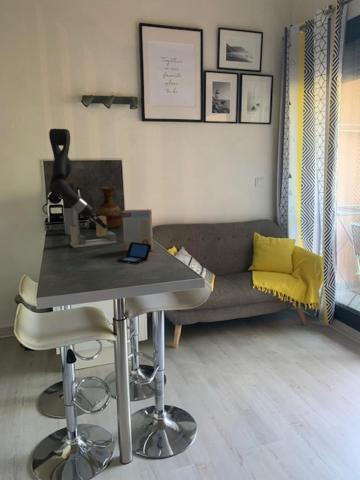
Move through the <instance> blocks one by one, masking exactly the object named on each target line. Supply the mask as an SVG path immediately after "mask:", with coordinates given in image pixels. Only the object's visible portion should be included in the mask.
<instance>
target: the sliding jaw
mask: <svg viewBox="0 0 360 480" xmlns="http://www.w3.org/2000/svg"><path fill="white" fill-rule="evenodd" d="M70 231H71V235H70V239H71V241H70V242H71V243H72V244H73V245H74V244H80V245H83V244H86V243H85V241H86V237H85V236H84V235H83V234H81V233H79V234H78V226H77V225H70Z"/></svg>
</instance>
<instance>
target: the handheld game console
mask: <svg viewBox="0 0 360 480" xmlns="http://www.w3.org/2000/svg"><path fill="white" fill-rule="evenodd" d="M150 249H151V245H150V244H143V243H135V242H131V243H130V246H129V249H128V252H126V255H125V256H123V257H120V258H117V259H116V261H117V262H118V261H122V262H121V263H124V262H130V263H129V264H131V263H140V262H143V261H146V260H147V261H148V258H149V254H150V252H151V251H150ZM147 261H146V262H147ZM143 263H144V262H143ZM140 264H141V263H140Z"/></svg>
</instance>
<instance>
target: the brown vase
mask: <svg viewBox="0 0 360 480" xmlns="http://www.w3.org/2000/svg"><path fill="white" fill-rule="evenodd" d="M99 188H100V190H101V191H102V192H103V197H104V198H103V202H102V203H101V204H100V205H99V206H98V207H97V209H96V212H95V214H96V215H97V216H106V221H107V229H112V228H117V227H120V226H121V225H123V213H122V210H121V208H120V207H119V206H118V204H117V203H115V202H114V200H113V192H114V191H115V189H116V186H114V185H105V186H101V187H99Z"/></svg>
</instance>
